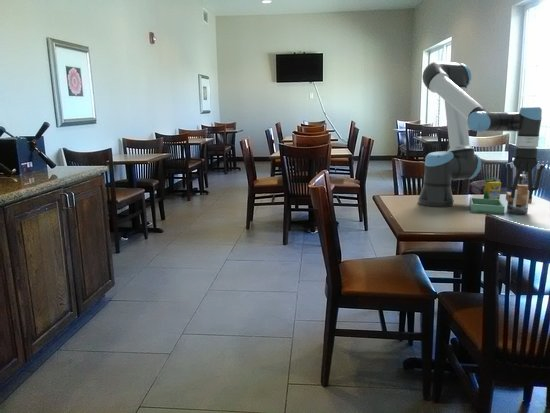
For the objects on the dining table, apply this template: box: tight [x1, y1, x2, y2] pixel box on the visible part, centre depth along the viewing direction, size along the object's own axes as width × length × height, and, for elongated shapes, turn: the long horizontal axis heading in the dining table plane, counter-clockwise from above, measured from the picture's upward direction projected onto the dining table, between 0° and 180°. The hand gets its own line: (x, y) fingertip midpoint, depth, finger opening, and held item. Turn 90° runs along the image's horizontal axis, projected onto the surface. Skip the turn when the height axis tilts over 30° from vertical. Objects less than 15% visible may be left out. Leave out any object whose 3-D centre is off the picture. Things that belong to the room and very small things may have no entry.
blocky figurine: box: [506, 175, 529, 216], centre depth 189 cm, size 8×8×16 cm
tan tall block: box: [505, 184, 533, 205], centre depth 187 cm, size 8×13×8 cm, turn 160°
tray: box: [468, 197, 506, 215], centre depth 198 cm, size 12×17×3 cm
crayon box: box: [483, 176, 502, 200], centre depth 212 cm, size 7×3×12 cm, turn 114°
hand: (520, 206), depth 184 cm, fingers closed on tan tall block, 3 cm apart
